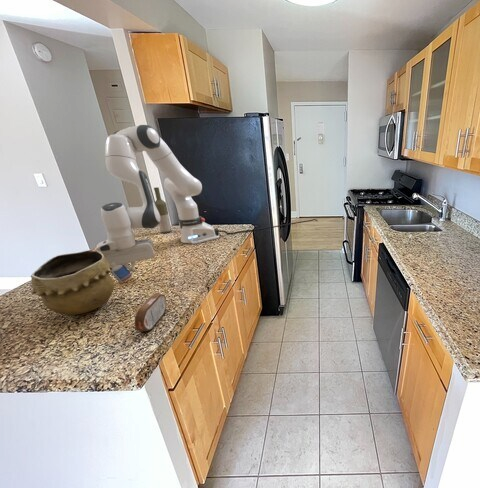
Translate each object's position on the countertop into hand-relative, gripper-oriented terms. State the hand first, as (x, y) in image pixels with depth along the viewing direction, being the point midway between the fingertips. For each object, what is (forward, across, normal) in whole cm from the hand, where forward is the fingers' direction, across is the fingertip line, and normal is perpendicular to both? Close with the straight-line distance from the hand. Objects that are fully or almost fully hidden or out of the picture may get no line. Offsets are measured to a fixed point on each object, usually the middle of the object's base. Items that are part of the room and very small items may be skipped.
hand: (131, 271), depth 115 cm
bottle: (+4, -19, -66) cm, 69 cm away
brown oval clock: (+4, -6, +40) cm, 41 cm away
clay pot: (+4, +14, +18) cm, 23 cm away
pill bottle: (+3, +3, 0) cm, 4 cm away
